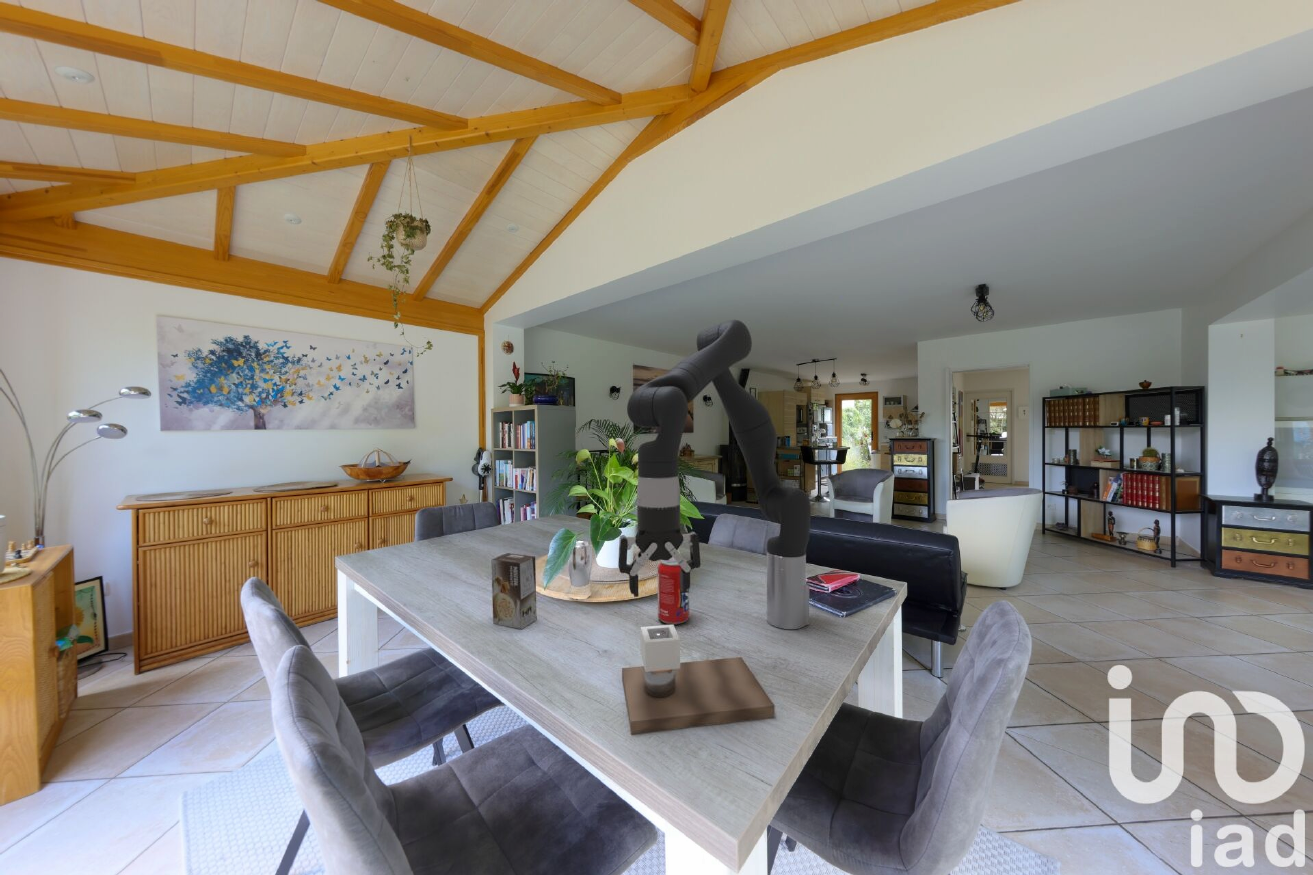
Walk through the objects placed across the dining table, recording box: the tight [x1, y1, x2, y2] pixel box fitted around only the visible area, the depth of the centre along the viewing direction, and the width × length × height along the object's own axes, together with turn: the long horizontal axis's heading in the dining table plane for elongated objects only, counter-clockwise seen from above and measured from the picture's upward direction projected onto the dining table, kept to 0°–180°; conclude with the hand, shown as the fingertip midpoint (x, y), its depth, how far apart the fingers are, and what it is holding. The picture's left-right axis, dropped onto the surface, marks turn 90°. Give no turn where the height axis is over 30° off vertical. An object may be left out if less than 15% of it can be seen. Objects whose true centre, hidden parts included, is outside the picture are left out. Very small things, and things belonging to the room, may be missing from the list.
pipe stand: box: [621, 630, 776, 735], centre depth 82 cm, size 24×16×12 cm, turn 99°
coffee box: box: [490, 552, 538, 630], centre depth 113 cm, size 9×6×16 cm
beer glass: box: [567, 540, 593, 587], centre depth 130 cm, size 7×7×15 cm
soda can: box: [657, 557, 690, 626], centre depth 114 cm, size 8×8×15 cm
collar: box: [640, 624, 681, 672], centre depth 81 cm, size 6×6×5 cm
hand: (659, 593), depth 80 cm, fingers open, 8 cm apart
